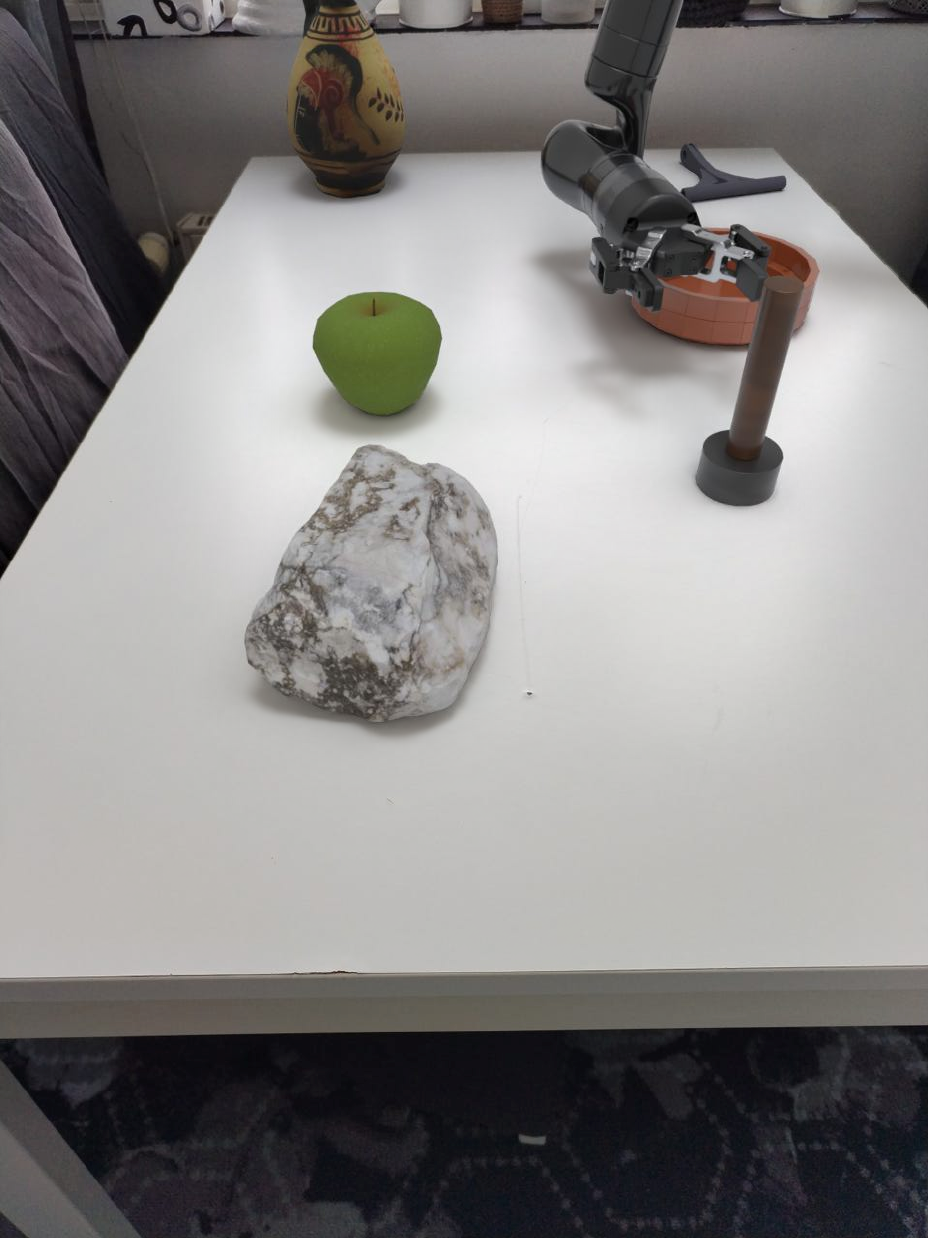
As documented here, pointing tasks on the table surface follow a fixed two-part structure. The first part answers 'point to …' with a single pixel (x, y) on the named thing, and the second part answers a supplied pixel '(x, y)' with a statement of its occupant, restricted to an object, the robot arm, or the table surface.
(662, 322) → the bowl
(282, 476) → the table surface
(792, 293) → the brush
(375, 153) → the ceramic jug
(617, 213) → the robot arm
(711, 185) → the bracket
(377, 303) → the apple
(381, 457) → the decorative stone
